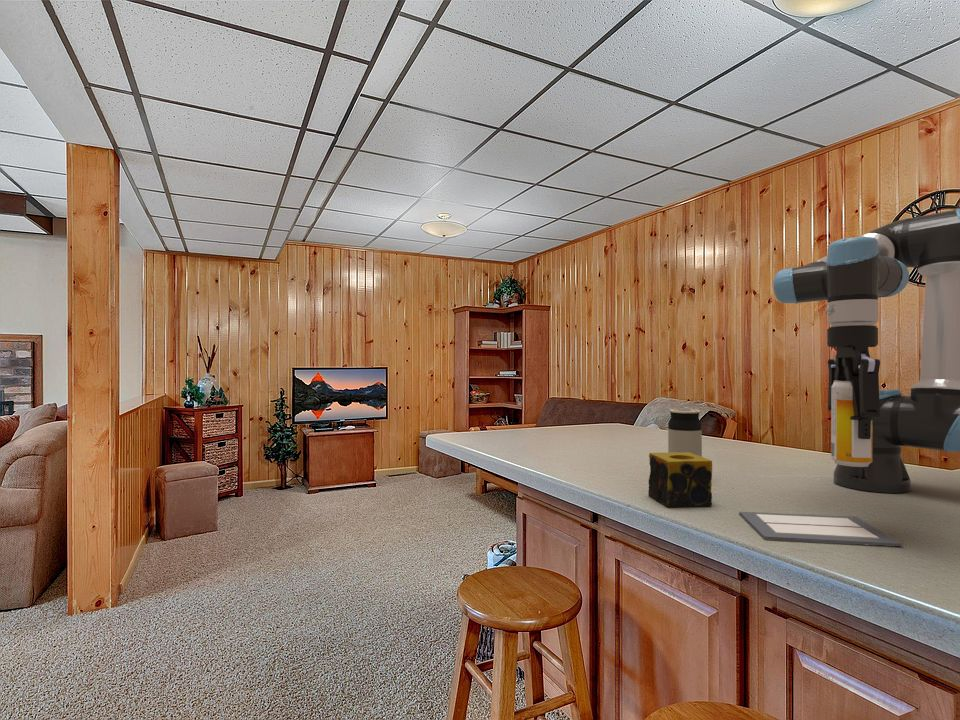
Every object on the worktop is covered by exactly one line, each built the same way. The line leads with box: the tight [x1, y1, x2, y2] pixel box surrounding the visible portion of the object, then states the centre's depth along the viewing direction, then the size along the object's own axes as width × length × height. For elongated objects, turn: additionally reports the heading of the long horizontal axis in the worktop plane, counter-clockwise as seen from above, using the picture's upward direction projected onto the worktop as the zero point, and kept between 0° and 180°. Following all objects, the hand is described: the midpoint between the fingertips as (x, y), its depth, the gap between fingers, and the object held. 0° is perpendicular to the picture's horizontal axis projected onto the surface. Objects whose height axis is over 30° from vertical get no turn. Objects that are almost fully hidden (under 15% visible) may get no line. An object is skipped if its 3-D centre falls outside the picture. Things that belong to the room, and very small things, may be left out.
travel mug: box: [667, 408, 703, 457], centre depth 136 cm, size 8×8×18 cm
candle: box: [648, 452, 713, 509], centre depth 117 cm, size 10×10×10 cm
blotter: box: [738, 511, 903, 548], centre depth 97 cm, size 21×15×1 cm
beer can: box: [830, 380, 873, 467], centre depth 96 cm, size 6×6×15 cm
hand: (852, 453), depth 96 cm, fingers closed on beer can, 6 cm apart
